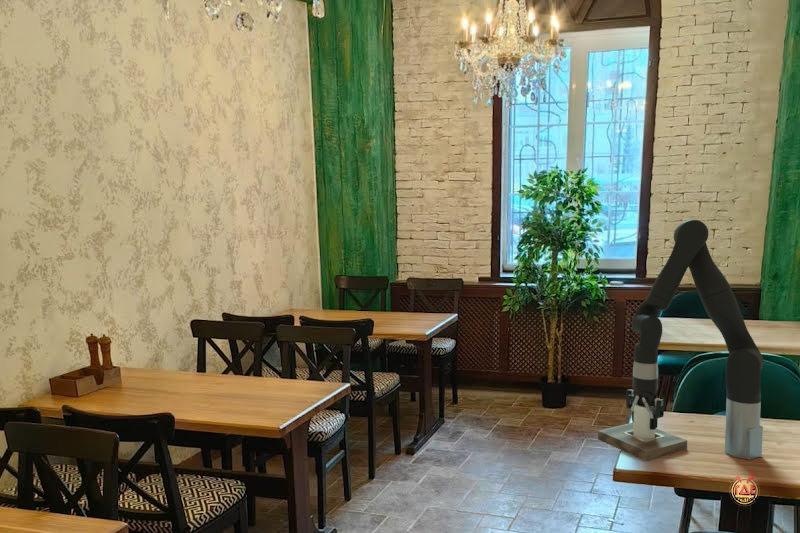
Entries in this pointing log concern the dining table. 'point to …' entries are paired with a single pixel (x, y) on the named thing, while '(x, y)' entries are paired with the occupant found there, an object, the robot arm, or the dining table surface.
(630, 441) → the socket board
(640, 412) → the can
